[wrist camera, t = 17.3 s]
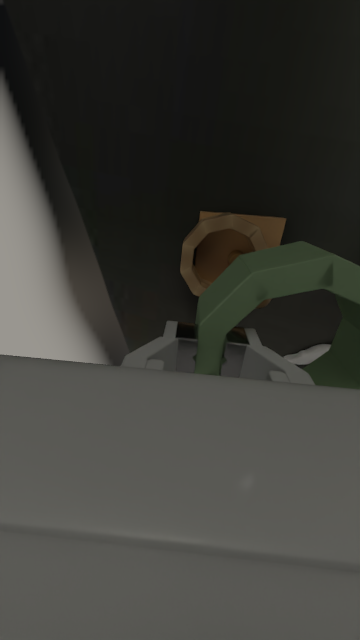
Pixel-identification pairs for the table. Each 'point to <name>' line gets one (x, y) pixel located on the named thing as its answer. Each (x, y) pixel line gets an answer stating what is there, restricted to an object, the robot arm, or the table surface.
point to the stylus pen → (308, 354)
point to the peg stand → (233, 245)
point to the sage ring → (276, 281)
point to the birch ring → (199, 234)
